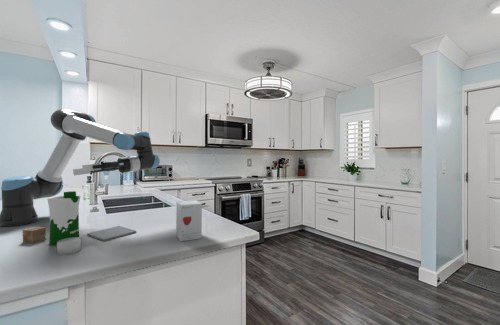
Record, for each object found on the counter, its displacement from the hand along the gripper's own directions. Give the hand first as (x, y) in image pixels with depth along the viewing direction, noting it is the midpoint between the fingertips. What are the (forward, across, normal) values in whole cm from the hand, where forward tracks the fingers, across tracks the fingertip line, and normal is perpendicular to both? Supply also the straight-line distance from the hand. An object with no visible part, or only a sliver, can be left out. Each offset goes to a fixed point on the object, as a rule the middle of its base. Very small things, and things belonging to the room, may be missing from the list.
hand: (77, 170), depth 106 cm
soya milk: (+9, -1, -28) cm, 29 cm away
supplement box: (-27, -32, -37) cm, 56 cm away
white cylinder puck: (+11, -13, -30) cm, 34 cm away
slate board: (-7, -4, -30) cm, 31 cm away
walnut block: (+16, +10, -25) cm, 32 cm away
